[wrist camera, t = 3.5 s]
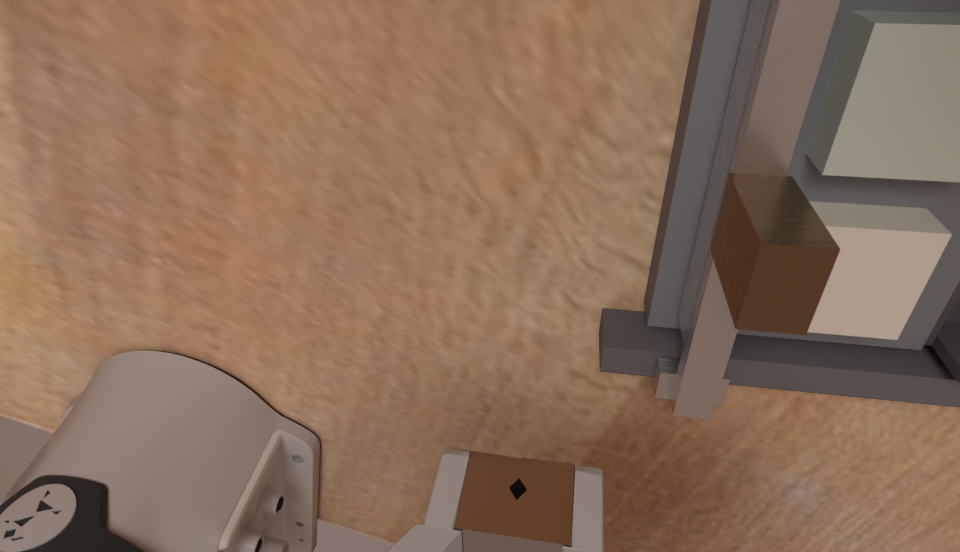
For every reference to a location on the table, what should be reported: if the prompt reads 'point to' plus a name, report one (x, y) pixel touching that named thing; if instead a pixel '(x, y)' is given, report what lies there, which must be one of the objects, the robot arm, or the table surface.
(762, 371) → the grey railed tray
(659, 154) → the table surface
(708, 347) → the bar
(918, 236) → the cream tile
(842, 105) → the sage tile
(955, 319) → the box
